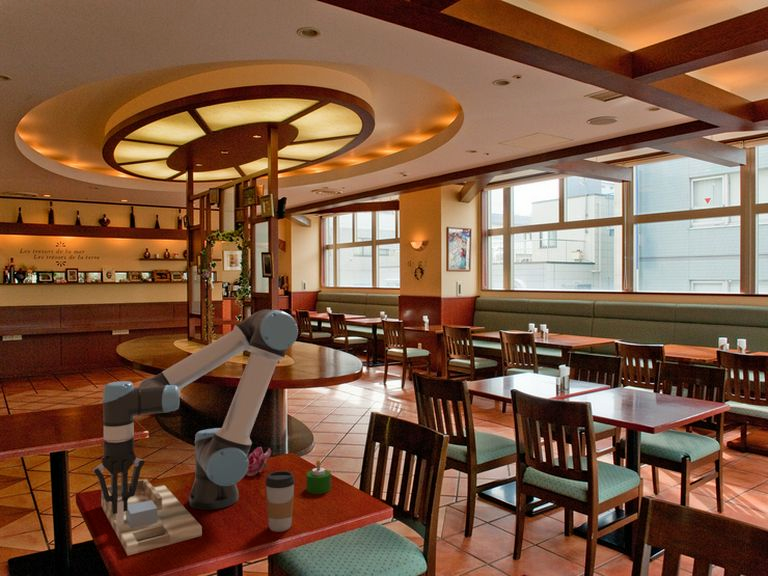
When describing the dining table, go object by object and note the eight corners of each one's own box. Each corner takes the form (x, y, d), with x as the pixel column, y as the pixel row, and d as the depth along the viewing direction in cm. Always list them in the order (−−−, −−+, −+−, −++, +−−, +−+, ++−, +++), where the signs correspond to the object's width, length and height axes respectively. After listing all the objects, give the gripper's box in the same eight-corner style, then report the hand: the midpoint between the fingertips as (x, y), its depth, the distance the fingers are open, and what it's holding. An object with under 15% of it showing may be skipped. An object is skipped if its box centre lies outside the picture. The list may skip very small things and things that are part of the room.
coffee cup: (267, 521, 162) (267, 470, 161) (295, 520, 162) (295, 469, 162) (263, 534, 153) (263, 480, 153) (293, 533, 154) (293, 479, 154)
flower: (248, 486, 198) (233, 462, 200) (258, 479, 208) (244, 456, 210) (273, 469, 198) (258, 445, 199) (282, 462, 207) (268, 440, 209)
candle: (335, 488, 188) (335, 459, 188) (320, 496, 181) (320, 465, 181) (316, 483, 193) (316, 455, 192) (301, 490, 186) (301, 461, 185)
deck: (101, 506, 172) (101, 487, 172) (164, 492, 184) (164, 474, 184) (127, 555, 141) (127, 532, 141) (201, 535, 152) (201, 514, 152)
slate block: (125, 519, 157) (125, 505, 157) (151, 513, 161) (151, 500, 161) (130, 528, 151) (130, 513, 151) (157, 522, 155) (157, 508, 155)
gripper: (140, 431, 158) (141, 513, 158) (90, 439, 150) (91, 525, 150) (147, 437, 152) (148, 522, 152) (94, 446, 144) (95, 535, 144)
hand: (119, 523), depth 151 cm, fingers closed
